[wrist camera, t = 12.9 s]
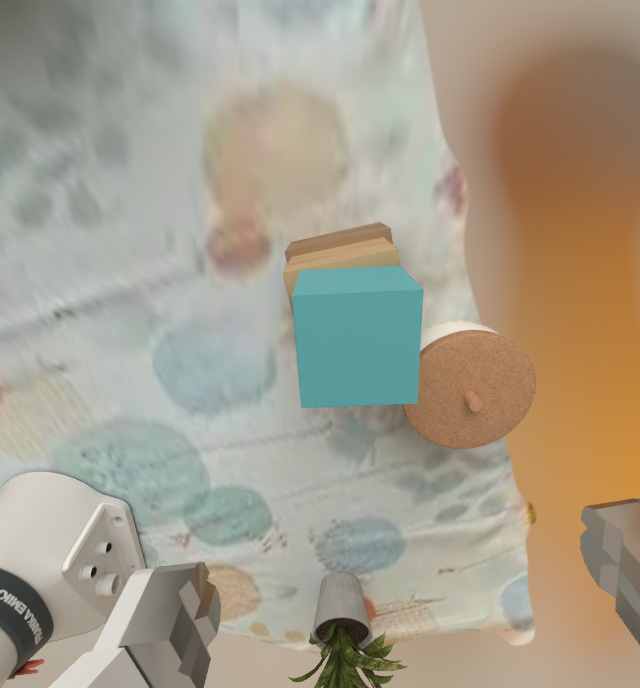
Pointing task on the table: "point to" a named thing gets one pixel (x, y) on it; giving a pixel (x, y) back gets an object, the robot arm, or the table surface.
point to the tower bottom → (339, 239)
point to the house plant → (346, 637)
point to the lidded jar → (469, 385)
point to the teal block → (357, 336)
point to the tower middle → (342, 259)
